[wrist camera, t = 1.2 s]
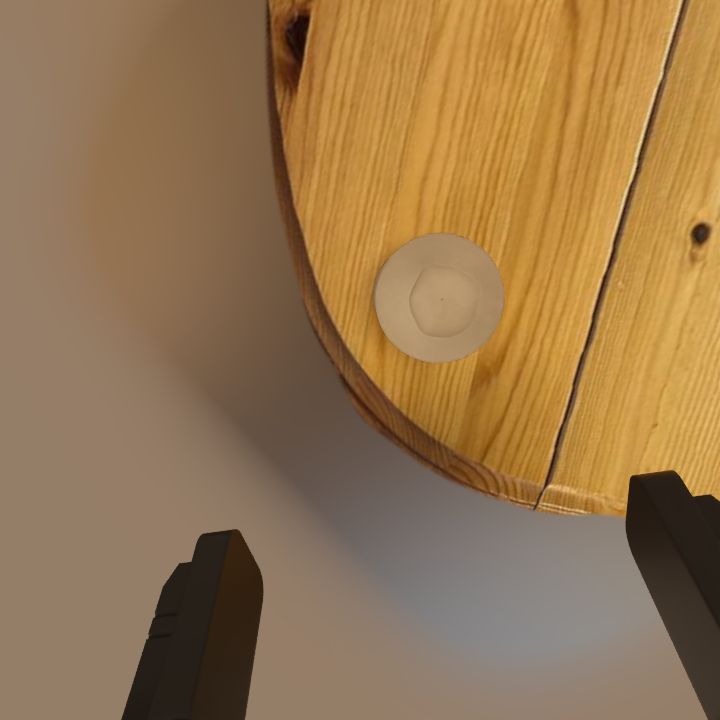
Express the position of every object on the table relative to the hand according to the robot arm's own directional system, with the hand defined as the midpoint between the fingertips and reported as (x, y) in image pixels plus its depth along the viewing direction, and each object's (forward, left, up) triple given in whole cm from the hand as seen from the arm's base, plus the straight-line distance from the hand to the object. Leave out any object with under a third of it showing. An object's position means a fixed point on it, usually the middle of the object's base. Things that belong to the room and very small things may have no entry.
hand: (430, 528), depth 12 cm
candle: (-1, +5, -22) cm, 22 cm away
